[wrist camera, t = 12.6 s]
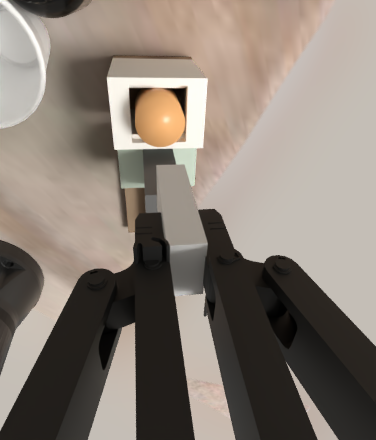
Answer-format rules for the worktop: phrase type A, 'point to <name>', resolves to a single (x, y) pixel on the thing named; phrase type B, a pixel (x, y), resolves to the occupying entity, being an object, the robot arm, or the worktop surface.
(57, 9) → the supplement bottle
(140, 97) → the button
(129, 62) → the cabinet
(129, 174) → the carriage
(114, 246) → the worktop surface
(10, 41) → the cup
